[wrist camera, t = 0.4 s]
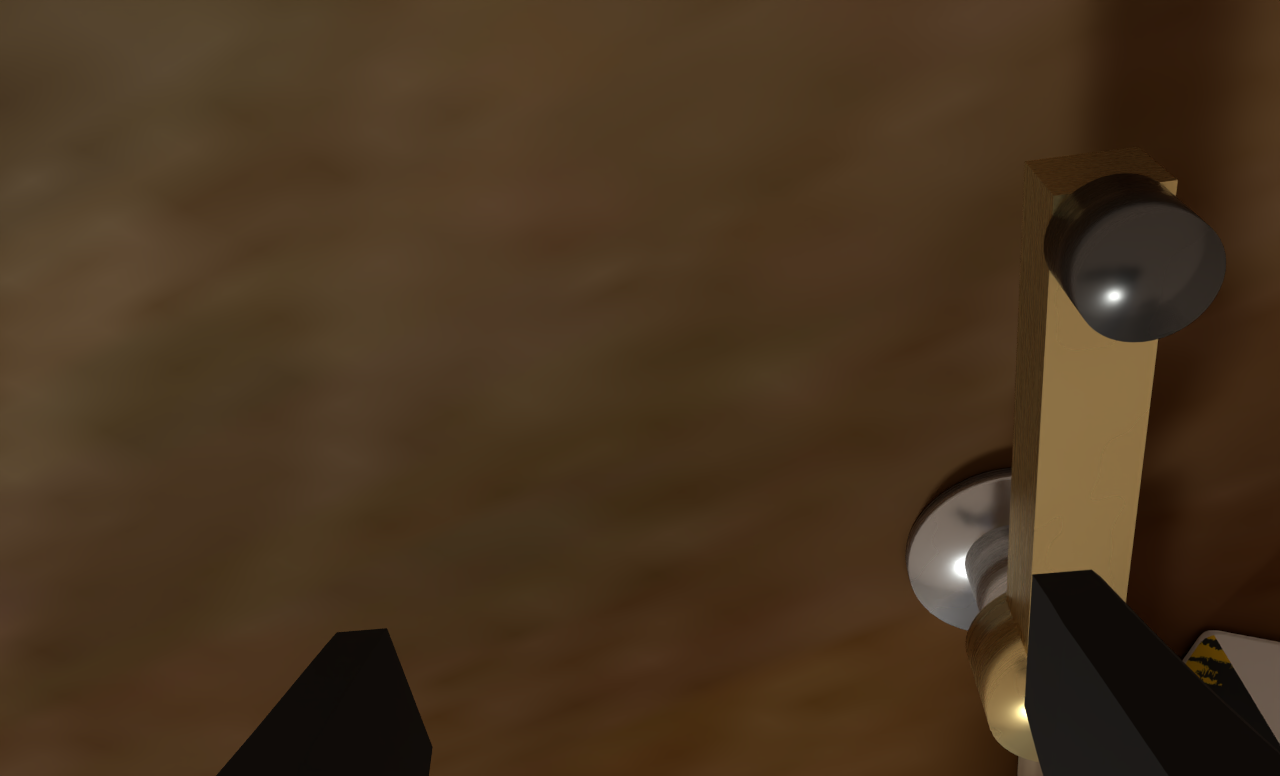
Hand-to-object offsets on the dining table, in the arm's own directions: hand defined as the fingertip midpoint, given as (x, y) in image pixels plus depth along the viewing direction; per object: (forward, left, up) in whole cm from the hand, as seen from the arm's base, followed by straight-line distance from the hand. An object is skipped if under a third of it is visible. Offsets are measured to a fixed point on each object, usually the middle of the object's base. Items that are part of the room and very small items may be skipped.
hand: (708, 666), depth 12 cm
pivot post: (-7, -6, -9) cm, 13 cm away
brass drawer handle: (-3, -6, -7) cm, 9 cm away
